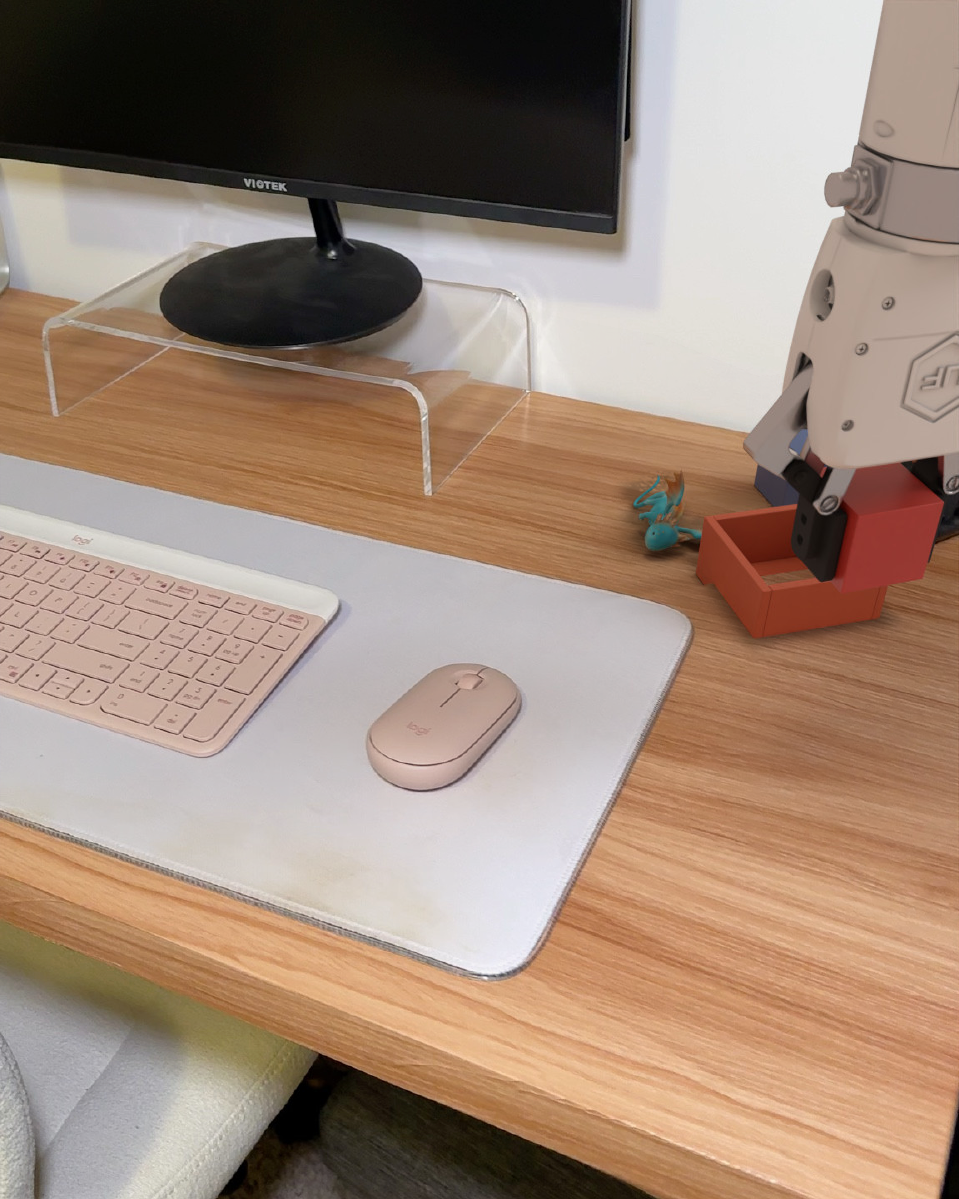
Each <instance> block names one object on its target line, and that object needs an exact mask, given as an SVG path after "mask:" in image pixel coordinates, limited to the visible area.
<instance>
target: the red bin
mask: <svg viewBox="0 0 959 1199" xmlns="http://www.w3.org/2000/svg"><path fill="white" fill-rule="evenodd" d="M796 509H797V504H793V505H786V506H778V507H773V506H771V507H764V508H758V509H757V508H756V509H751V510H750V509H749V510H742V511H736V512H728V513H720V514H714V515H706V516H704V517H703V523H702V529H701V530H702V536H701V539H700V542H699V549H698V556H697V563H696V569H695V574H696V576H697V577H698V579H699V580H700V582H701V583H702V584H703V585H704V586H707V585H712V584H713V585H714V586H715V588H716V589H717V590H718V592H719V593H720V595H721V596H722V597H723V599H724V600H725V601H726V603H727V604H728V605H729V607H730V608H731V610H732V611H733V613H735V615H736V616H737V618H738V619H739V620H740V622H741V623H742V624H743V626H744V627H745V629H746V630H747V631H748V633H749V634H750V635H751V637H752V638H753V639H760V638H766V637H772V636H777V635H783V634H789V633H795V632H802V631H809V630H814V629H821V628H828V627H833V626H840V625H845V624H852V623H857V622H864V621H870V620H876V619H880V616H881V614H882V611H883V610H882V609H883V605H884V602H885V598H886V595H887V592H888V588H889V585H887V586H881V587H876V588H870V589H865V590H859V591H854V592H848V593H843V594H842V593H840V592H839V590H838V589H837V588H836V587H835V586H834V585H833V584H832V582H831V581H827V582H819V581H818V579H817V578H816V577H811V578H804V579H799V580H791V581H785V582H779V583H772V584H767V583H766V582H765V580H764V579H763V578H762V577H766V576H772V575H778V574H785V573H791V572H798V571H805V570H809V569H808V568H807V567H806V566H805V564H804V563H803V562H802V561H801V560H800V559H799V558H798V557H797V556H796V555H795V554H794V552H793V550H792V547H791V535H792V530H793V525H794V519H795V514H796Z"/></svg>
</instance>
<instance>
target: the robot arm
mask: <svg viewBox="0 0 959 1199" xmlns="http://www.w3.org/2000/svg"><path fill="white" fill-rule="evenodd" d="M823 187H824V188H823V194H824V199H825V200H824V201H825V203H826V204H827V206H829V207H830V208H840V207H842V208H843V210H844V215H842V216H838V217H835V218H832V219H831V221H830V223H829V226H828V228H827V231H826V232H825V235H824V236H823V240H822V242H821V245H820V247H819V250H818V253H817V255H816V258H815V261H814V263H813V265H812V269H811V272H810V275H809V278H808V281H807V284H806V288H805V290H804V294H803V296H802V301H801V304H800V307H799V311H798V314H797V318H796V321H795V326H794V330H793V335H792V338H791V343H790V346H789V352H788V356H787V362H786V365H785V371H784V376H783V382H782V389H781V394H780V395H779V397H778V398H777V399H776V401H775V402H774V403H773V404H772V406H770V407H769V409H768V410H767V412H766V413H765V414H764V415H763V416H762V417H761V419H760V420H759V421H758V423H757V424H755V426H754V427H753V429H752V430H751V431H750V432H749V433H748V435H747V436H746V437H745V439H744V440H743V442H742V449H743V451H745V452H746V454H747V455H748V456H750V458H751V459H752V460H753V461H754V462H755V463H756V464H757V466H758V465H760V466H762V467H763V468H765V469H766V470H768V471H770V472H771V473H773V474H775V475H776V476H779V477H781V478H782V479H784V480H786V481H787V482H788V483H789V484H790V485H791V486H792V487H793V488H794V489H795V490H796V491H797V492H798V493H799V498H798V503H797V509H796V514H795V519H794V525H793V530H792V535H791V547H792V550H793V552H794V554H795V555H796V556H797V557H798V558H799V559H800V560H801V561H802V562H803V563H804V564H805V566H806V567H807V568H808V569H807V570H809V572H810V573H811V574H812V575H813V576H814V578H817V579H818V581H819V582H827V581H831V580H833V577H835V574H836V569H837V565H838V560H839V556H840V551H841V547H842V542H843V538H844V533H845V528H846V524H847V514H846V513H845V512H844V511H843V509H842V508H841V507H840V505H841V502H842V500H843V498H844V496H845V494H846V491H847V489H848V487H849V485H850V482H851V480H852V478H853V476H854V474H855V471H856V469H858V468H865V467H873V466H880V465H886V464H893V463H899V462H900V463H904V462H905V463H906V462H911V464H912V465H906V466H904V467H905V468H906V469H907V470H909V471H910V472H911V473H912V474H913V475H914V476H915V477H916V478H918V479H919V480H920V481H921V482H922V483H923V484H924V485H925V486H927V487H928V488H929V489H930V490H931V491H932V492H933V493H934V494H936V495H937V496H938V497H939V498H940V499H941V500H942V501H943V502H944V505H943V508H942V512H941V515H940V519H939V523H938V526H937V530H936V533H935V537H934V541H933V544H932V548H931V551H930V555H929V559H928V562H927V564H929V563H930V562H931V559H932V556H933V552H934V548H935V545H936V541H937V537H938V534H939V532H940V527H941V524H942V521H943V517H944V513H945V509H946V506H947V503H948V500H949V497H950V496H951V495H955V494H957V493H959V0H882V6H881V12H880V17H879V23H878V27H877V34H876V40H875V44H874V51H873V55H872V60H871V66H870V72H869V77H868V82H867V89H866V94H865V100H864V104H863V109H862V115H861V121H860V126H859V131H858V139H857V144H855V145H854V147H853V150H852V158H851V162H850V166H849V167H847V168H845V169H844V170H843V171H835V172H831V173H829V174H828V176H827V177H826V179H825V182H824V186H823ZM802 429H808V436H807V438H806V441H805V443H804V445H803V448H802V450H801V453H800V455H798V454H797V453H796V452H795V451H794V450H793V449H792V448H790V443H791V442H792V440H793V439H794V438H795V437H796V436H797V434H798V433H799V432H800V431H801V430H802ZM825 464H826V465H828V466H827V468H826V470H825V473H824V475H823V477H821V476H820V474H821V472H822V469H823V467H824V465H825ZM949 495H950V496H949Z"/></svg>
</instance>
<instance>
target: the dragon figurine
mask: <svg viewBox="0 0 959 1199" xmlns="http://www.w3.org/2000/svg"><path fill="white" fill-rule="evenodd" d="M673 476H674V478H675V481H673V480H670V479H668V478H665V477H664V481H665V482H666V484H667V490H666V491H665V490H661V491H658V492H656V493H653V494H652V495H650V496H648V497H647V498H645V499H644V500H643V501H640V500H642V499H643V498H644V497H645V496H646V495H647V494H649V493H650V492H651V491H653V490H654V489H655V488H656V487H657V486H658V484H659V483H660V481H661V477H660V475H659V474H657V478H656V481H655V482H654V484H652V486H650V487H649V488H648V489H646V490H645V491H644V492H643V493H642V494H640V495H639V496H638V497H637V498H635V500H634V501H633V504H632V507H634V508H636V509H640V508H644V507H646V506H651V507H652V508H651V509H650V510H649V511H645V512H643V513H639V515H637V517H638V520H641V521H644V519H647V521H648V525H649V526H647V529H646V532H645V535H644V546H645V547H646V549H648V550H649V551H653V552H657V551H664V550H666V549H668V548H670V549H671V548H679V547H682V545H681V544H680V543H683V542H684V541H690V540H691V538H689V537H687V535H690V536H692V538H694V540H701V536H702V529H695V528H688V527H681V526H678V525H677V524H678V523H679V521H680V519H681V518H682V516H683V515H684V512H685V505H686V504H685V502H684V498H683V496H684V494H685V488H686V486H685V477H684V473H683V470H682V469H680V472H679V473H677V472H673ZM638 502H640V503H638ZM680 533H682V534H680ZM686 534H687V535H686Z"/></svg>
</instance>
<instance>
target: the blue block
mask: <svg viewBox="0 0 959 1199" xmlns="http://www.w3.org/2000/svg"><path fill="white" fill-rule="evenodd" d="M807 436H808V429H802V430H801V431H800V432H799V433H798V434H797V436H796V437H795V438H794V439H793V440H792V442H791V443H790V448H792V449H793V450H794V451H795V452H796V453H797V454H798V455H800V453H801V450H802V448H803V445H804V443H805V441H806V438H807ZM827 466H828V465H826V464H825V465H824V467H827ZM753 484H754V485H753V486H754V487H755V488H756V489H757V490H758V491H759V493H760V494H762V496H763V497H764V498H765V499H766V500H767V501H768V502H769V504H770V505H771V507H778V506H786V505H793V504H797V503H798V498H799V493H798V492H797V491H796V490H795V489H794V488H793V487H792V486H791V485H790V484H789V483H788V482H787V481H786V480H784V479H782V478H781V477H779V476H776V475H775V474H773V473H771V472H770V471H768V470H766V469H765V468H763V467H762V466H760V465H758V464H757V466H756V472H755V477H754V483H753Z"/></svg>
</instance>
